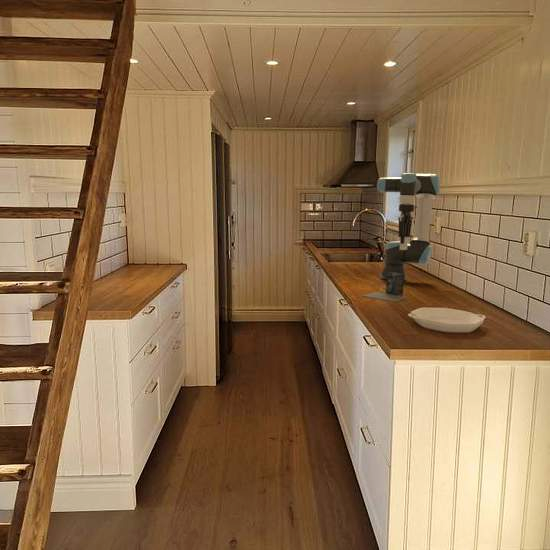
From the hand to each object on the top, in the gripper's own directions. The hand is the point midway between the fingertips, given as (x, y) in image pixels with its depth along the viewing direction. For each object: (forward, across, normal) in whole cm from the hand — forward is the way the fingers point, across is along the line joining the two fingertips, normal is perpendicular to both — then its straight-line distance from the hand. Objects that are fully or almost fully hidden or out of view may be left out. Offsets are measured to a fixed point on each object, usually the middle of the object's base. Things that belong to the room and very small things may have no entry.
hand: (403, 249), depth 250 cm
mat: (+22, +18, 0) cm, 29 cm away
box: (+22, +8, 0) cm, 24 cm away
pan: (+23, +51, +41) cm, 69 cm away
